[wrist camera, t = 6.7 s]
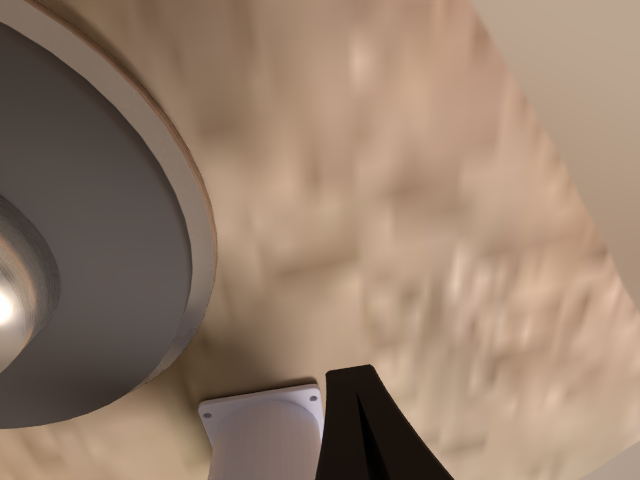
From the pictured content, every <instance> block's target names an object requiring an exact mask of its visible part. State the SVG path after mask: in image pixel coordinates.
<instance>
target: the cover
mask: <svg viewBox="0 0 640 480" xmlns="http://www.w3.org/2000/svg"><path fill="white" fill-rule="evenodd" d="M60 290H61V283H60V274H59V270H58V266H57V263H56V260H55V258H54V255H53V253H52V251H51V249H50V247H49V246H48V244H47V242H46V241H45V239H44V237H43V236H42V235H41V233H40V232H39V231H38V229H37V228H36V227H35V226H34V225H33V223H32V222H31V221H30V220H29V219H28V218H27V217H26V216H25V215H24V214H23V213H22V212H21V211H20V210H19V209H17V208H16V207H15V206H14V205H13V204H12V203H10V202H9V201H8V200H7V199H5V198H4V197H2V196H1V195H0V373H1V372H2V371H3V370H4V369H5V368H6V367H8V366H9V364H10V363H11V362H12V361H13V360H14V359H15V358H16V357H17V356H18V355H19V353H20V352H21V351H22V350H23V349H24V348H25V347H26V346H27V345H28V344H29V342H30V341H31V340H32V339H33V338H34V337H35V336H36V335H37V334H38V332H39V331H40V330H41V329H42V328H43V327H44V326H45V325H46V324H47V322H48V321H49V320H50V318H51V317H52V316H53V314H54V312H55V310H56V308H57V305H58V302H59V298H60Z"/></svg>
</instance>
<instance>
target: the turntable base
mask: <svg viewBox="0 0 640 480" xmlns="http://www.w3.org/2000/svg"><path fill="white" fill-rule="evenodd" d="M0 22H2V23H4V24H6V25H8V26H10V27H12V28H13V29H15V30H17V31H18V32H20V33H21V34H23V35H25V36H26V37H28V38H29V39H31V40H33V41H34V42H36V43H37V44H39V45H41V46H42V47H44V48H45V49H47V50H49V51H50V52H52V53H53V54H54V55H55V56H57V57H58V58H59V59H61V60H62V61H63V62H65V63H66V64H67V65H69V66H70V67H71V68H72V69H74V70H75V71H76V72H78V73H79V74H80V75H82V76H83V77H84V78H85V79H87V80H88V81H89V82H90V83H91V84H92V85H93V86H94V87H95V88H96V89H97V90H98V91H99V92H100V93H101V94H102V95H104V96H105V97H106V98H107V99H108V100H109V101H110V102H111V103H112V104H113V105H114V106H115V107H116V108H117V109H118V110H119V111H120V112H121V114H122V115H123V116H124V117H125V118H126V119H127V121H128V122H129V123H130V124H131V125H132V126H133V127H134V129H135V130H136V131H137V132H138V133H139V134H140V136H141V137H142V138H143V140H144V141H145V143H146V144H147V146H148V147H149V149H150V150H151V151H152V153H153V154H154V156H155V157H156V159H157V160H158V162H159V163H160V165H161V166H162V168H163V170H164V172H165V174H166V176H167V178H168V180H169V182H170V183H171V185H172V187H173V189H174V191H175V193H176V196H177V198H178V201H179V204H180V206H181V209H182V212H183V214H184V217H185V220H186V224H187V229H188V233H189V238H190V242H191V251H192V265H193V271H192V282H191V291H190V295H189V299H188V303H187V307H186V310H185V313H184V316H183V318H182V321H181V323H180V326H179V329H178V331H177V333H176V335H175V338H174V340H173V342H172V344H171V347H170V349H169V350H168V352H167V353H166V355H165V356H164V358H163V359H162V360H161V362H160V363H159V365H158V366H157V367H156V368H155V369H154V370H153V371H152V372H151V374H150V375H149V376H148V377H147V378H146V379H145V380H144V381H143V382H141V383H140V384H139V385H138V386H136V387H135V388H134V389H132V390H131V391H130V392H132V391H134V390H135V389H137V388H139V387H141V386H142V385H144V384H146V383H147V382H149V381H151V380H152V379H154V378H155V377H156V376H157V375H159V374H160V373H161V372H163V371H164V370H165V369H166V368H168V367H169V366H170V365H171V364H172V363H173V362H174V361H175V360H176V359H177V358H178V357H179V355H180V354H181V353H182V352H183V351H184V350H185V348H186V347H187V346H188V344H189V343H190V341H191V340H192V338H193V337H194V336H195V334H196V332H197V330H198V328H199V326H200V324H201V322H202V320H203V317H204V315H205V312H206V309H207V306H208V302H209V299H210V295H211V292H212V288H213V285H214V282H215V275H216V267H217V258H218V255H217V232H216V226H215V221H214V215H213V210H212V206H211V202H210V199H209V196H208V193H207V190H206V187H205V184H204V181H203V178H202V176H201V174H200V172H199V170H198V168H197V166H196V164H195V162H194V160H193V158H192V155H191V153H190V151H189V149H188V148H187V146H186V145H185V143H184V141H183V140H182V138H181V137H180V135H179V134H178V132H177V130H176V129H175V127H174V126H173V124H172V122H171V121H170V119H169V118H168V117H167V116H166V114H165V113H164V112H163V111H162V109H161V108H160V107H159V106H158V104H157V103H156V102H155V101H154V99H153V98H152V97H151V96H150V94H149V93H148V92H147V91H146V89H145V88H144V87H143V86H142V85H141V84H140V83H139V82H138V81H137V80H136V79H135V78H134V77H133V76H132V75H131V74H130V73H129V72H128V71H127V70H126V69H125V68H124V67H123V66H122V65H121V64H120V63H119V62H118V61H117V60H116V59H115V58H113V57H112V56H111V55H110V54H109V53H107V52H106V51H105V50H104V49H102V48H101V47H100V46H99V45H97V44H96V43H95V42H94V41H93V40H91V39H90V38H89V37H88V36H86V35H85V34H84V33H83V32H82V31H80V30H79V29H77V28H76V27H74V26H73V25H71V24H70V23H68V22H67V21H65V20H64V19H62V18H61V17H59V16H58V15H56V14H55V13H53V12H52V11H50V10H49V9H47V8H46V7H44V6H43V5H41V4H40V3H38V2H36V1H34V0H0Z"/></svg>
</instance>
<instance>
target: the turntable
mask: <svg viewBox="0 0 640 480" xmlns="http://www.w3.org/2000/svg"><path fill="white" fill-rule="evenodd" d="M0 195H1V196H2V197H4V198H5V199H7V200H8V201H9V202H10V203H12V204H13V205H14V206H15V207H16V208H17V209H19V210H20V211H21V212H22V213H23V214H24V215H25V216H26V217H27V218H28V219H29V220H30V221H31V222H32V223H33V225H34V226H35V227H36V228H37V229H38V231H39V232H40V233H41V235H42V236H43V237H44V239H45V241H46V242H47V244H48V246H49V247H50V249H51V251H52V253H53V255H54V258H55V260H56V263H57V266H58V270H59V274H60V283H61V290H60V298H59V302H58V305H57V308H56V310H55V312H54V314H53V316H52V317H51V318H50V320H49V321H48V322H47V324H46V325H45V326H44V327H43V328H42V329H41V330H40V331H39V332H38V334H37V335H36V336H35V337H34V338H33V339H32V340H31V341H30V342H29V344H28V345H27V346H26V347H25V348H24V349H23V350H22V351H21V352H20V353H19V355H18V356H17V357H16V358H15V359H14V360H13V361H12V362H11V363H10V364H9V366H8V367H6V368H5V369H4V370H3V371H2V372H1V373H0V429H12V428H23V427H32V426H40V425H46V424H50V423H55V422H60V421H65V420H68V419H72V418H75V417H78V416H81V415H84V414H88V413H90V412H92V411H95V410H97V409H99V408H102V407H104V406H106V405H109V404H110V403H112V402H114V401H115V400H117V399H119V398H121V397H122V396H124V395H126V394H127V393H129V392H130V391H131V390H132V389H134V388H135V387H136V386H138V385H139V384H140V383H141V382H143V381H144V380H145V379H146V378H147V377H148V376H149V375H150V374H151V372H152V371H153V370H154V369H155V368H156V367H157V366H158V365H159V363H160V362H161V360H162V359H163V358H164V356H165V355H166V353H167V352H168V350H169V349H170V347H171V344H172V342H173V340H174V338H175V335H176V333H177V331H178V329H179V326H180V323H181V321H182V318H183V316H184V313H185V310H186V307H187V303H188V299H189V295H190V291H191V282H192V271H193V265H192V251H191V242H190V238H189V233H188V229H187V224H186V220H185V217H184V214H183V212H182V209H181V206H180V204H179V201H178V198H177V196H176V193H175V191H174V189H173V187H172V185H171V183H170V182H169V180H168V178H167V176H166V174H165V172H164V170H163V168H162V166H161V165H160V163H159V162H158V160H157V159H156V157H155V156H154V154H153V153H152V151H151V150H150V149H149V147H148V146H147V144H146V143H145V141H144V140H143V138H142V137H141V136H140V134H139V133H138V132H137V131H136V130H135V129H134V127H133V126H132V125H131V124H130V123H129V122H128V121H127V119H126V118H125V117H124V116H123V115H122V114H121V112H120V111H119V110H118V109H117V108H116V107H115V106H114V105H113V104H112V103H111V102H110V101H109V100H108V99H107V98H106V97H105V96H104V95H102V94H101V93H100V92H99V91H98V90H97V89H96V88H95V87H94V86H93V85H92V84H91V83H90V82H89V81H88V80H87V79H85V78H84V77H83V76H82V75H80V74H79V73H78V72H76V71H75V70H74V69H72V68H71V67H70V66H69V65H67V64H66V63H65V62H63V61H62V60H61V59H59V58H58V57H57V56H55V55H54V54H53V53H52V52H50V51H49V50H47V49H45V48H44V47H42V46H41V45H39V44H37V43H36V42H34V41H33V40H31V39H29V38H28V37H26V36H25V35H23V34H21V33H20V32H18V31H17V30H15V29H13V28H12V27H10V26H8V25H6V24H4V23H2V22H0Z"/></svg>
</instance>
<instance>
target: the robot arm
mask: <svg viewBox="0 0 640 480" xmlns="http://www.w3.org/2000/svg"><path fill="white" fill-rule="evenodd" d="M325 375H326V391H327V392H326V411H325V421H324V416H323V409H322V402H321V395H320V388H319V386H318V385H317V384H307V385H301V386H294V387H288V388H282V389H276V390H269V391H263V392H257V393H250V394H244V395H238V396H232V397H225V398H219V399H213V400H206V401H203V402H201V403H200V404H199V406H198V412H199V415H200V418H201V420H202V423H203V425H204V428H205V431H206V433H207V436H208V438H209V441H210V443H211V446H212V449H213V452H212V458H211V464H210V470H209V475H208V480H454V478H453V477H452V476H451V475H450V474H449V473H448V471H447V470H446V469H445V468H444V467H443V466H442V464H441V463H440V462H439V461H438V459H437V458H436V457H435V456H434V455H433V453H432V452H431V451H430V450H429V448H428V447H427V446H426V445H425V443H424V442H423V441H422V439H421V438H420V437H419V436H418V434H417V433H416V431H415V430H414V429H413V427H412V426H411V425H410V423H409V422H408V421H407V419H406V418H405V416H404V415H403V414H402V412H401V411H400V409H399V408H398V406H397V405H396V403H395V402H394V400H393V399H392V397H391V396H390V394H389V393H388V391H387V390H386V388H385V386H384V385H383V383H382V381H381V380H380V378H379V376H378V374H377V372H376V370H375V368H374V367H373V366H372V365H370V364H369V365H362V366H356V367H350V368H343V369H337V370H331V371H328V372H327V373H326V374H325Z"/></svg>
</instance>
